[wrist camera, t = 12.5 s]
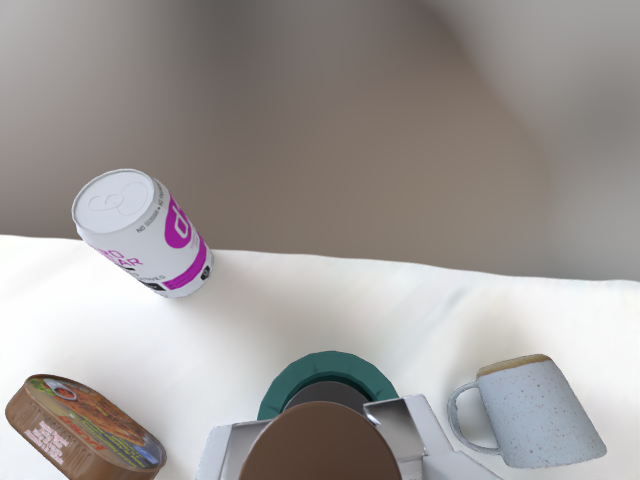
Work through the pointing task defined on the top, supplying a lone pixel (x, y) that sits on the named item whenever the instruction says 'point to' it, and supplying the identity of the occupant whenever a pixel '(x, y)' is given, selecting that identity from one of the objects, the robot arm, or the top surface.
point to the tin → (83, 431)
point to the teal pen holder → (325, 380)
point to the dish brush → (321, 440)
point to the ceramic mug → (531, 415)
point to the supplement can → (142, 232)
